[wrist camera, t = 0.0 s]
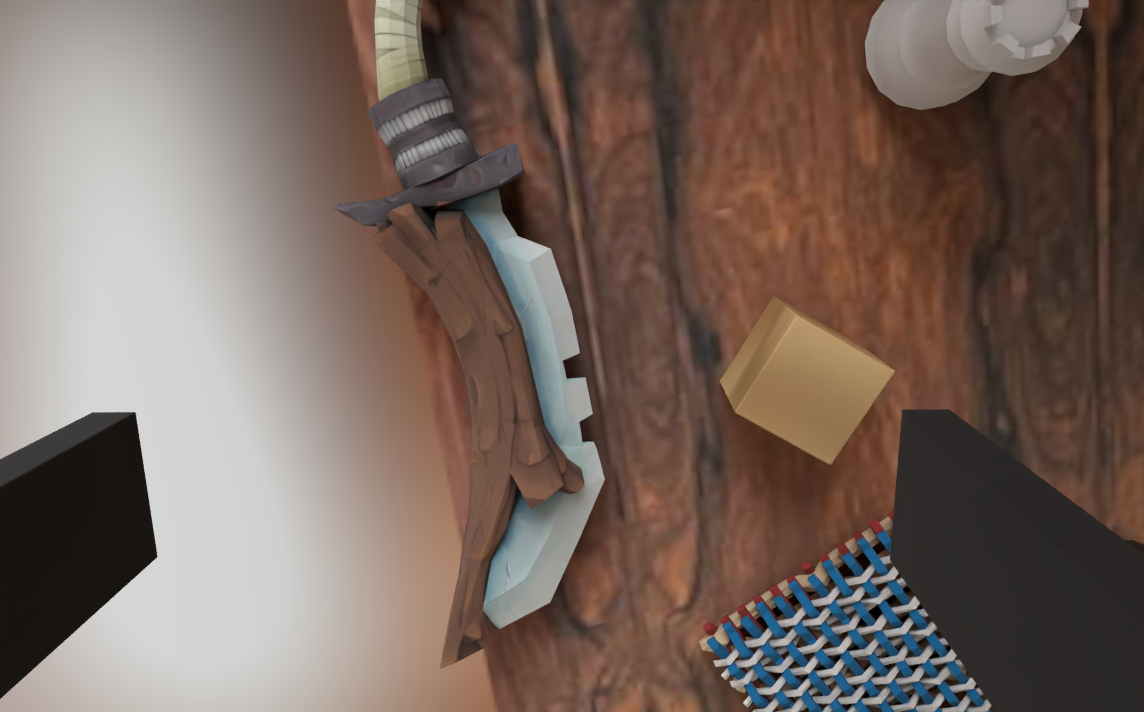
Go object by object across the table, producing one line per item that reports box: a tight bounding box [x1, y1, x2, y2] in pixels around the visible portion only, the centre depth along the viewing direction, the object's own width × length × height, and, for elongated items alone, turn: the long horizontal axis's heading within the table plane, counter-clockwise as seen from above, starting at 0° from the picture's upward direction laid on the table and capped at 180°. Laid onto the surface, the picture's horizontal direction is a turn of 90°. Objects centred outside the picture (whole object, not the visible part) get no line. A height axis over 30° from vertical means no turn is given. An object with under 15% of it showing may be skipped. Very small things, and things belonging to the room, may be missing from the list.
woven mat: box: [699, 511, 992, 712], centre depth 34 cm, size 10×11×2 cm
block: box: [720, 296, 895, 465], centre depth 30 cm, size 4×4×4 cm
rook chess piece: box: [865, 0, 1089, 110], centre depth 25 cm, size 4×4×8 cm
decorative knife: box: [335, 0, 605, 668], centre depth 30 cm, size 4×9×30 cm
